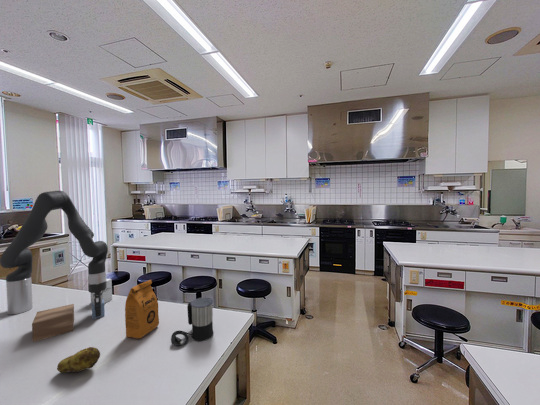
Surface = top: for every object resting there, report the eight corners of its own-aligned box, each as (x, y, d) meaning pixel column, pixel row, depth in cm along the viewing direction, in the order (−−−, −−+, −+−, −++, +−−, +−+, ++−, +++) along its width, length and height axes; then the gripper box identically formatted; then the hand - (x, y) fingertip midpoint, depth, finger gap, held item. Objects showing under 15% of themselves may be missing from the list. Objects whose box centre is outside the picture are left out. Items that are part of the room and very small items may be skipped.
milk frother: (217, 331, 105) (217, 298, 105) (195, 354, 90) (194, 315, 90) (191, 326, 110) (190, 294, 109) (166, 346, 95) (165, 310, 95)
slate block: (92, 315, 121) (92, 301, 121) (104, 312, 124) (104, 299, 124) (92, 319, 117) (91, 305, 117) (104, 316, 120) (104, 302, 120)
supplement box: (101, 305, 132) (100, 283, 131) (90, 304, 133) (89, 282, 133) (112, 299, 139) (112, 278, 139) (102, 299, 140) (101, 278, 140)
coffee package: (162, 326, 110) (161, 279, 109) (139, 342, 98) (138, 290, 97) (146, 322, 113) (145, 277, 112) (122, 337, 101) (120, 287, 101)
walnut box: (38, 328, 110) (37, 311, 109) (74, 319, 117) (73, 303, 117) (32, 342, 99) (31, 323, 99) (72, 331, 107) (72, 314, 107)
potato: (80, 359, 88) (79, 338, 88) (105, 367, 84) (104, 345, 84) (53, 375, 80) (52, 352, 80) (79, 384, 76) (78, 360, 76)
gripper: (89, 278, 124) (90, 310, 124) (87, 287, 112) (88, 322, 113) (106, 275, 128) (107, 306, 129) (106, 283, 116) (107, 317, 117)
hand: (98, 313), depth 121 cm, fingers open, 6 cm apart
